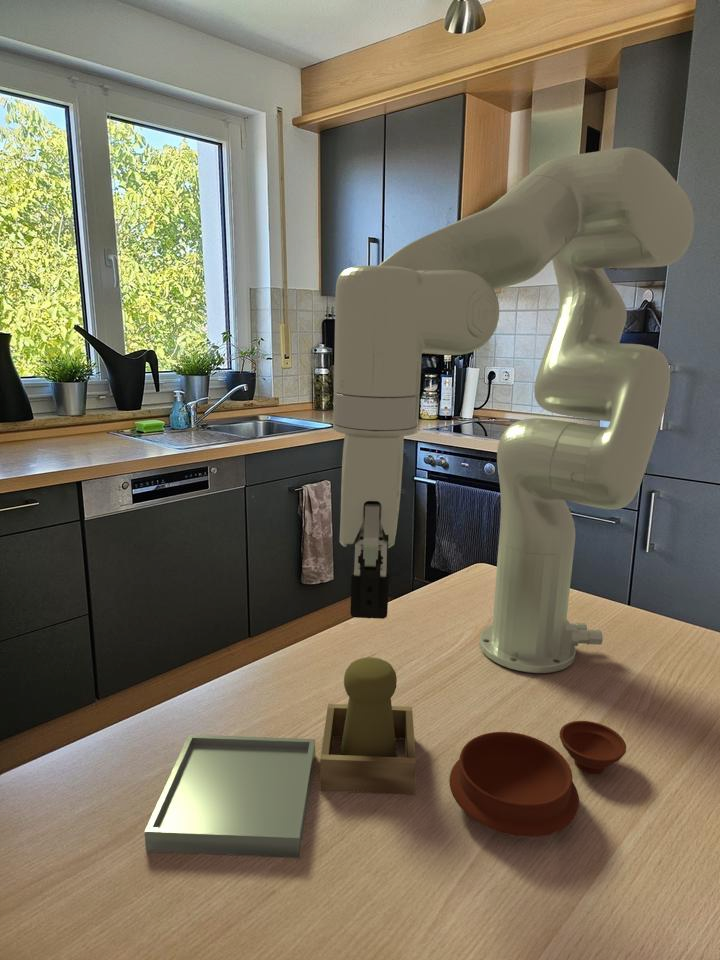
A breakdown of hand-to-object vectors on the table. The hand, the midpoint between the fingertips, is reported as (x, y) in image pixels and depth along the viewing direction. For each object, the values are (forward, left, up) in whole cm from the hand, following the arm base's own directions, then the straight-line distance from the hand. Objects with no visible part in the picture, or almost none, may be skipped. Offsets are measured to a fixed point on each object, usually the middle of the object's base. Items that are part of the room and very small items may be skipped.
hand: (369, 593), depth 62 cm
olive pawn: (0, 0, -19) cm, 19 cm away
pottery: (-17, +3, -19) cm, 26 cm away
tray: (+12, +6, -19) cm, 23 cm away
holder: (0, 0, -19) cm, 19 cm away
